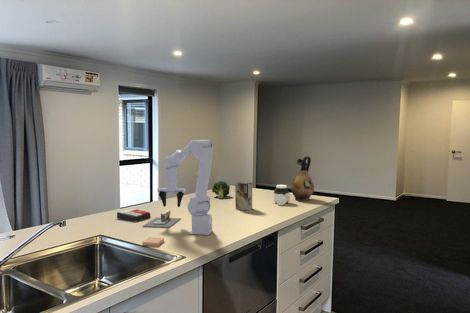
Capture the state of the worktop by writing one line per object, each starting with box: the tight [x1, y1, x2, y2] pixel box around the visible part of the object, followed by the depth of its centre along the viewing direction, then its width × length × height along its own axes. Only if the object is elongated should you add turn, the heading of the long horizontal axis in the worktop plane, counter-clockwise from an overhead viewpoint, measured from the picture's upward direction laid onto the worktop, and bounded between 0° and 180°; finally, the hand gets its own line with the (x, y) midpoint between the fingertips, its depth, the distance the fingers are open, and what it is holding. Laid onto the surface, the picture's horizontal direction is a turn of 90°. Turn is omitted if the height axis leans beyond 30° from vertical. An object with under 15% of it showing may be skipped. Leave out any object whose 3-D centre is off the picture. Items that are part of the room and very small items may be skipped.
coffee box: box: [234, 181, 253, 211], centre depth 224 cm, size 9×6×16 cm
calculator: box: [116, 208, 151, 222], centre depth 203 cm, size 11×4×15 cm
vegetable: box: [211, 180, 231, 199], centre depth 263 cm, size 12×13×15 cm
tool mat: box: [142, 216, 182, 229], centre depth 191 cm, size 14×18×1 cm
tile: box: [141, 236, 165, 247], centre depth 157 cm, size 7×2×7 cm
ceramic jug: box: [290, 155, 315, 202], centre depth 251 cm, size 17×15×30 cm
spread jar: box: [273, 184, 291, 206], centre depth 238 cm, size 12×11×12 cm
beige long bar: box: [153, 209, 171, 225], centre depth 193 cm, size 14×6×4 cm, turn 170°
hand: (171, 206), depth 188 cm, fingers open, 7 cm apart
